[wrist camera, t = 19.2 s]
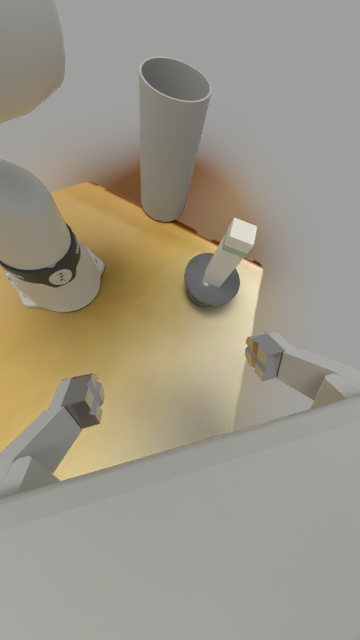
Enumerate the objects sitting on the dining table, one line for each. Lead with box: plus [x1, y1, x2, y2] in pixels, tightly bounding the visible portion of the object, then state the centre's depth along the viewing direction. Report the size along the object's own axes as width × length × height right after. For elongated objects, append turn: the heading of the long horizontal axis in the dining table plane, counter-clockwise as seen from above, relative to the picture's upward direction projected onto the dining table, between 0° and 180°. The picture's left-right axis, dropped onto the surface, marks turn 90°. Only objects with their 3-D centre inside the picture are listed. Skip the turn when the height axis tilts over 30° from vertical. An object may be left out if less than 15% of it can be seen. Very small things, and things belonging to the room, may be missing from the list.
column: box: [203, 218, 257, 287], centre depth 36 cm, size 4×4×14 cm
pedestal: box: [184, 253, 240, 307], centre depth 46 cm, size 13×13×7 cm
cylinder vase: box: [139, 57, 212, 222], centre depth 43 cm, size 12×12×25 cm
